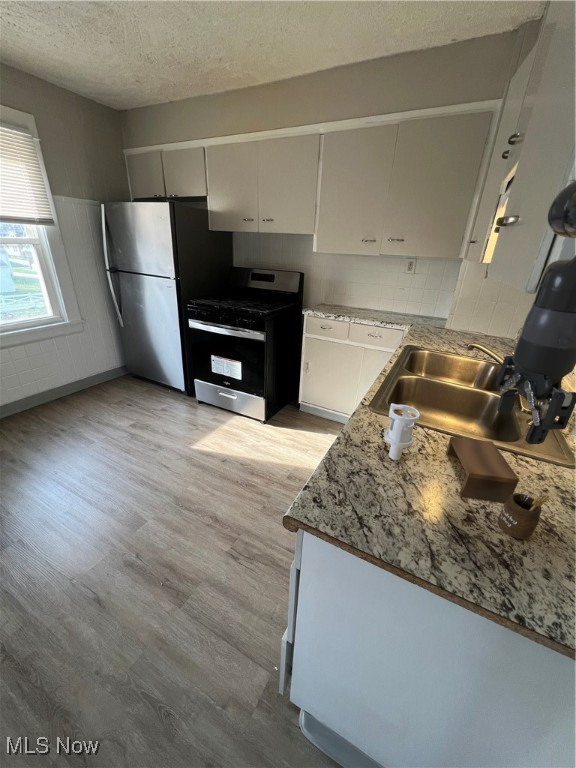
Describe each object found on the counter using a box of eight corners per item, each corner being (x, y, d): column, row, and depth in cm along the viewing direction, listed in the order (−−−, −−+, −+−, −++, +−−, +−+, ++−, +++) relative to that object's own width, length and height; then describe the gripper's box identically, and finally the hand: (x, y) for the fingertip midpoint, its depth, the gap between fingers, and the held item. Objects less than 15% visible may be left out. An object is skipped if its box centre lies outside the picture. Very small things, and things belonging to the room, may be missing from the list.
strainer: (384, 445, 88) (393, 398, 81) (410, 453, 85) (422, 405, 78) (378, 459, 82) (388, 409, 76) (406, 468, 79) (418, 417, 73)
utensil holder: (522, 518, 66) (543, 474, 61) (538, 544, 60) (563, 498, 55) (491, 513, 67) (510, 469, 62) (505, 539, 61) (527, 493, 56)
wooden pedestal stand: (484, 463, 82) (492, 441, 79) (508, 503, 70) (519, 479, 67) (443, 458, 83) (450, 436, 80) (460, 497, 71) (469, 472, 68)
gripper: (622, 356, 39) (570, 455, 47) (546, 321, 52) (515, 404, 59) (558, 357, 40) (518, 454, 47) (499, 322, 52) (474, 404, 60)
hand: (516, 426), depth 53 cm, fingers open, 8 cm apart
